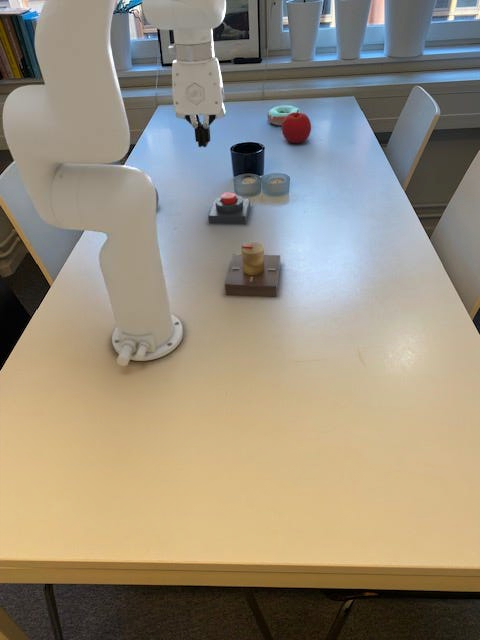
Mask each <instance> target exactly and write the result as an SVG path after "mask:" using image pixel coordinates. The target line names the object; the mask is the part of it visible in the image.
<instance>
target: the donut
mask: <svg viewBox="0 0 480 640" xmlns="http://www.w3.org/2000/svg"><path fill="white" fill-rule="evenodd" d="M297 110H299V111H298V113H302V112H301V110H300V109H299V108H298V107H297V106H292V105H280V106H274V107H273V108H271V109H270V110H269V111H268V112H267V116H266V117H267V120H268V122H269V123H271V124H272V125H274V126H280V127H282V123H283V120H284V119H285V117H286V116H287V115H289V114H290V113H297Z"/></svg>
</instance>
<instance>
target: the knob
mask: <svg viewBox="0 0 480 640" xmlns="http://www.w3.org/2000/svg"><path fill="white" fill-rule="evenodd" d="M240 249H241V254H242V267H243V272H244V273H246V274H248V275H258V274H261V273H262V272H263V271H264V255H265V246H264V245H263V244H262V243H260V242H257V241H250V242H249V241H248V242H246V243H244V244H242V245H241V247H240Z"/></svg>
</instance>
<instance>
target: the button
mask: <svg viewBox="0 0 480 640" xmlns="http://www.w3.org/2000/svg"><path fill="white" fill-rule="evenodd" d="M236 195H237V194H236V193H235V192H234V191H227V192H223V193H222V194H221V195H220V196H221V198H222V203H223V204H234V203H236V202H237V201H236Z"/></svg>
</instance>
